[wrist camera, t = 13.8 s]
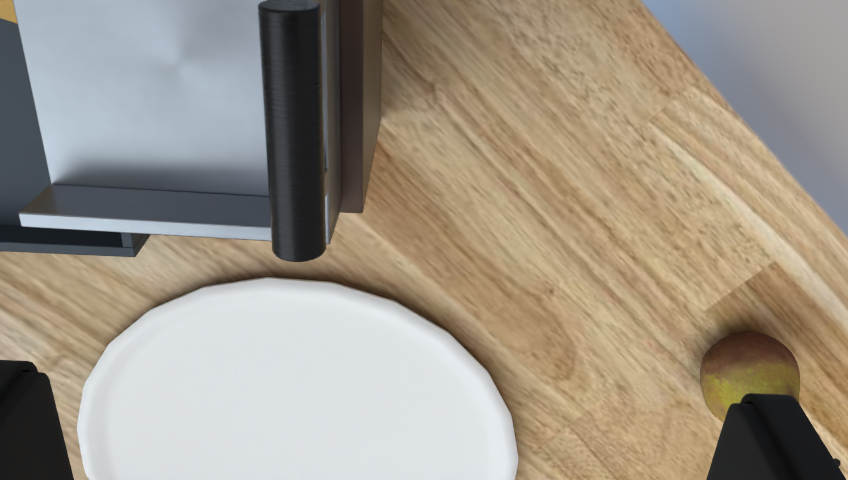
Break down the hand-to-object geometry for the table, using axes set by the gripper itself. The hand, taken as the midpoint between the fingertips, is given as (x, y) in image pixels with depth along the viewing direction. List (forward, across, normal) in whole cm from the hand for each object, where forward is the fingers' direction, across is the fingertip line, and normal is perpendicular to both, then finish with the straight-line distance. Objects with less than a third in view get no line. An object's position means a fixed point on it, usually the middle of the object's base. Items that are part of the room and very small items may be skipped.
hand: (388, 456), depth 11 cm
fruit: (+31, -20, +20) cm, 42 cm away
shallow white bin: (+19, +8, 0) cm, 21 cm away
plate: (+31, +7, +30) cm, 43 cm away
